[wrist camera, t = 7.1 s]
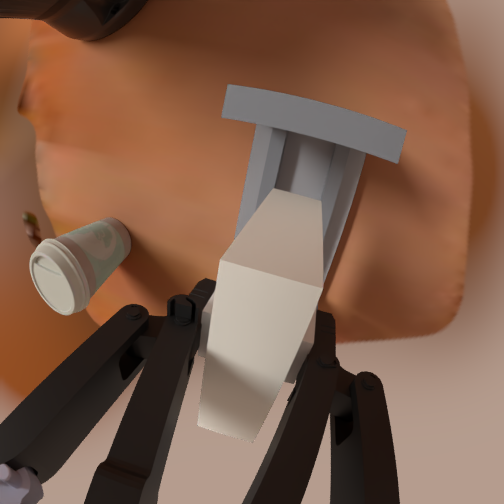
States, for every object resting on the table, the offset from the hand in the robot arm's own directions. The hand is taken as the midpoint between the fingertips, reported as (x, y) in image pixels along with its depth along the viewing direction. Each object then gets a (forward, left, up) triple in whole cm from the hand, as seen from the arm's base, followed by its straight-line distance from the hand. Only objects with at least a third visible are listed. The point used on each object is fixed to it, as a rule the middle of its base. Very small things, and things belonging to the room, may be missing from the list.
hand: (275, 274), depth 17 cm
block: (+1, 0, -2) cm, 2 cm away
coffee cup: (+9, -21, -12) cm, 26 cm away
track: (0, 0, -12) cm, 12 cm away
